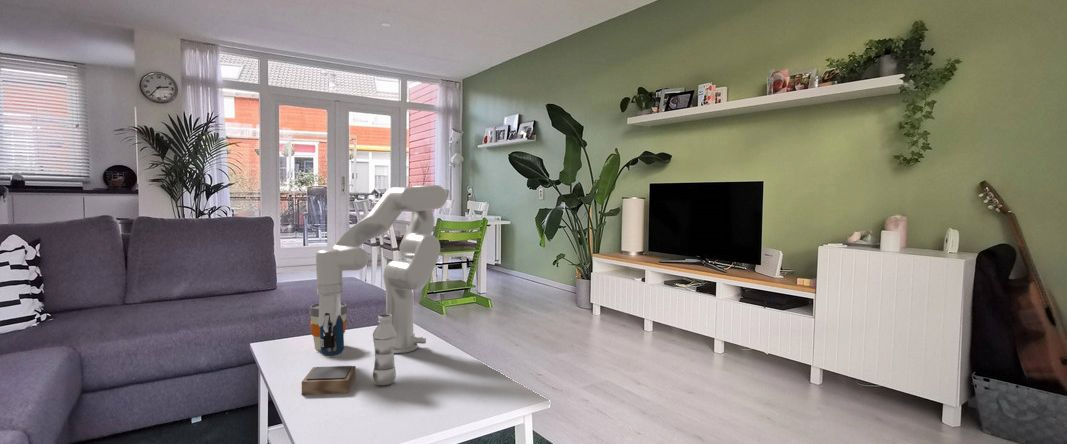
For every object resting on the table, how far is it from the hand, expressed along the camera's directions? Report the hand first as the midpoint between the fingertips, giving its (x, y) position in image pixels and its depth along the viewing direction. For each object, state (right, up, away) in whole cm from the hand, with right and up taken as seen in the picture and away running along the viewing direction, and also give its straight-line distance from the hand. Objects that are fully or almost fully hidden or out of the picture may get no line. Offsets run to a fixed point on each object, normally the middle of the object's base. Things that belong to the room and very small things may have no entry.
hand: (332, 343), depth 163 cm
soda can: (0, -4, 0) cm, 4 cm away
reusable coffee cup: (-9, -6, +20) cm, 23 cm away
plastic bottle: (+21, -9, -14) cm, 26 cm away
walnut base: (+6, -8, -17) cm, 19 cm away
